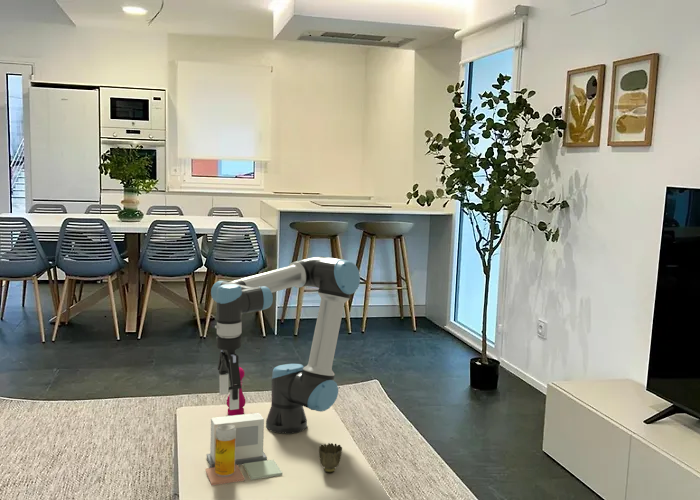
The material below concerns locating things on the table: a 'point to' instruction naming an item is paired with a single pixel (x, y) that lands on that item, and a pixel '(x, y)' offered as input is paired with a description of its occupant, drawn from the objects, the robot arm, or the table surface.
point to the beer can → (225, 450)
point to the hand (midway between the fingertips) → (228, 401)
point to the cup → (330, 456)
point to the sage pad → (262, 469)
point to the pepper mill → (241, 398)
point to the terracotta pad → (217, 479)
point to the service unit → (241, 437)
